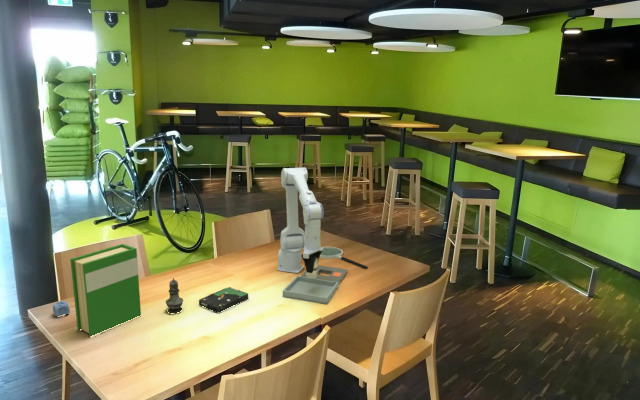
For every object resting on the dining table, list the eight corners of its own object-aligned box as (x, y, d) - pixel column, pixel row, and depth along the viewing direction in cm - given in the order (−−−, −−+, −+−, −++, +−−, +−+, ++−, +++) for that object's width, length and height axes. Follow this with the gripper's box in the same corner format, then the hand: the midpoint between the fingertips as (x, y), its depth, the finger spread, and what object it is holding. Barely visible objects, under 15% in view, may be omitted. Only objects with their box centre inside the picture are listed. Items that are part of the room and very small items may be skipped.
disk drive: (218, 315, 162) (249, 300, 174) (218, 308, 161) (248, 292, 173) (198, 307, 168) (228, 292, 180) (198, 299, 167) (228, 285, 179)
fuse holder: (300, 279, 192) (300, 275, 192) (311, 267, 205) (311, 263, 205) (338, 285, 188) (338, 281, 187) (347, 272, 201) (347, 269, 200)
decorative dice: (66, 310, 161) (65, 300, 160) (70, 315, 158) (68, 304, 157) (53, 314, 158) (52, 303, 158) (56, 318, 156) (55, 307, 155)
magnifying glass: (355, 274, 201) (356, 269, 201) (308, 253, 223) (308, 249, 223) (376, 266, 210) (377, 262, 209) (329, 248, 232) (329, 244, 231)
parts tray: (282, 296, 176) (282, 290, 176) (297, 281, 190) (297, 275, 190) (326, 304, 171) (326, 298, 170) (338, 288, 185) (338, 282, 185)
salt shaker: (167, 315, 160) (165, 282, 157) (164, 308, 165) (162, 276, 162) (185, 312, 162) (184, 279, 159) (181, 305, 167) (180, 273, 164)
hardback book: (91, 338, 145) (84, 264, 139) (77, 330, 149) (70, 258, 143) (141, 316, 159) (136, 248, 153) (127, 310, 163) (122, 243, 157)
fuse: (304, 277, 178) (305, 260, 176) (308, 273, 182) (308, 256, 180) (315, 279, 177) (315, 261, 175) (318, 275, 180) (319, 257, 179)
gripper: (316, 243, 167) (315, 278, 171) (328, 231, 181) (327, 265, 184) (297, 240, 169) (297, 276, 173) (311, 229, 183) (310, 262, 186)
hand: (311, 270), depth 178 cm, fingers closed on fuse, 4 cm apart
